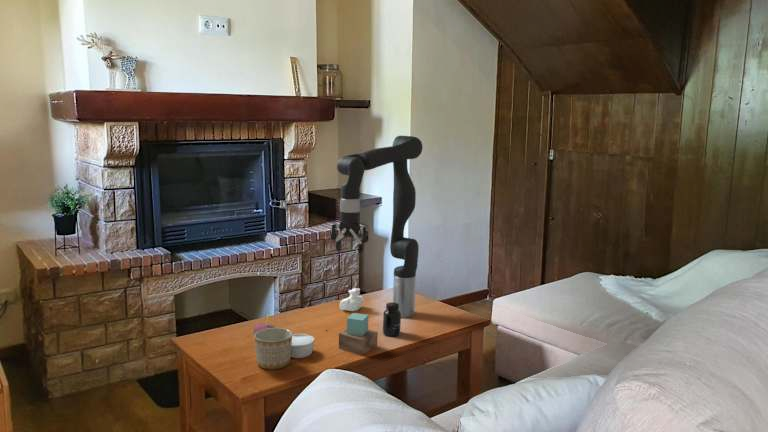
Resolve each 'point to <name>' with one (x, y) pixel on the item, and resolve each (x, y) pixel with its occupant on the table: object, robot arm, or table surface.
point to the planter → (273, 347)
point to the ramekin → (301, 345)
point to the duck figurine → (352, 301)
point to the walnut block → (358, 342)
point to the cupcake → (262, 326)
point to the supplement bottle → (391, 319)
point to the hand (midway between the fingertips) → (349, 252)
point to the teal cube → (357, 324)
